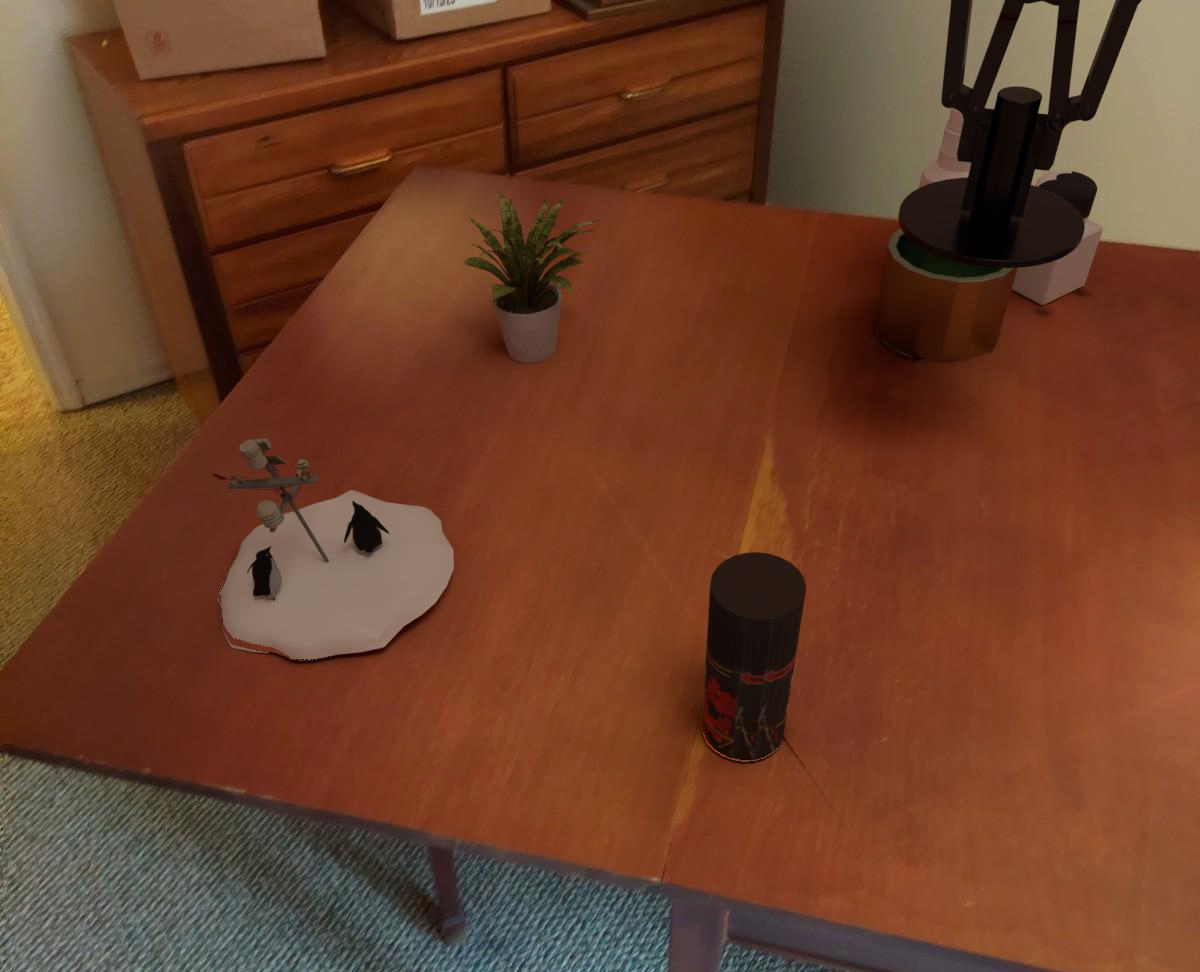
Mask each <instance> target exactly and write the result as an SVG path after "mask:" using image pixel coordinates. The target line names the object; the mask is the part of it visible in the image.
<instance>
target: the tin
mask: <svg viewBox="0 0 1200 972" xmlns="http://www.w3.org/2000/svg"><path fill="white" fill-rule="evenodd" d="M885 254H886V255H885V259H884V264H883V265H884V266H883V270H882V271H883V272H882V277H881V283H880V289H879V294H878V299H877V306H876V310H875V311H876V312H875V317H874V321H873V323H874V332H875V336H876V337H877V339H878V341H879V342H880V343H881V344H882V345H883V346H884V347H885V348H886V349H887V350H889V351H890V352H892V354H895V355H897V356H899V357H901V358H903V359H906V360H908V361H912V362H919V361H921V360H926V361H932V362H937V363H939V362H941V363H943V362H944V363H945V362H964V361H968V360H970V359H974V358H977V357H981V356H984V355H986V354H990V353H991V352H992V351H993V350H994V349H995V347H996V346H997V343H998V341H999V337H1000V333H1001V330H1002V325H1003V322H1004V318H1005V314H1006V312H1007V308H1008V305H1009V301H1010V297H1011V293H1012V291H1013V290H1012V286H1013V283H1014V279H1015V275H1016V272H1017V268H991V267H981V266H974V265H968V264H964V263H959V262H955V261H952V260H949V259H945V258H942V257H940V256H937V255H935V254H932V253H930V252H928V251H926V250H924V249H923V248H921V247H919V246H918V245H916V244H915V243H914V242H912V241H911V240H910V239H909V238H908V237H907V236H906V235H905V234H904V233H903V231H902V229H901V228H899V229H898V230H896V231H895V232H893V233H892V234H891V237H890V239H889V242H888V244H887V250H886V253H885Z"/></svg>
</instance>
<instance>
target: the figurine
mask: <svg viewBox="0 0 1200 972" xmlns="http://www.w3.org/2000/svg"><path fill="white" fill-rule="evenodd" d="M272 447H273V445H272V443H271V441H270V439H269V438H255V437H252V438H251V439H247V440H245V441H243V442H242V443H241V444H240V445H239V451H240V453H241V456H242V457H243V458H244V459H245V461H246V462H247V464H248V466H249V467H250V469H251V470H253V471H258V470H262V469H263V468H265V469H266V471H267V472H268V473H269V474H270V475H271V476H272V477H269V478H268V477H267V478H258V479H257V478H256V479H244V478H245V477H243V476H238V477H237V476H236V475H231V476H230V477H225V476H222V475H220V474H218V473H211V476H213V477H215V478H217V479H218V480H220V481H227V480H230V482H229V484H228V486H227V490H251V489H252V490H259V491H261V490H262V491H275V494H277V493H278V495H279V496H280V499H281V503H280V505H278V503H277V501H273V500H270V499H266V500H262V501H260V502H259V503H258V505H257V507H256V515H257V516H258V519H260V522H261V523H262V524H260V525H258V526H256V527H254V528H253V529H252V530H251V532H250V533H249V534H248V535H247V536H246V537H244V539H243V540H242V541H241V544H240V546H239V549H238V553H237V555H236V557H235V559H234V561H233V563H232V565H231V567H230V569H229V571H228V572H229V573H228V572H227V574H228V576H227V575H226V576H227V579H226V582H225V584H224V586H223V588H222V585H223V582H224V580H223V581H222V584H221V586H220V589H219V592H218V596H219V594H220V595H221V596H222V597H221V604H220V602H219V599H218V596H217V598H216V601H217V602H218V604H219V606H220V609H221V619H222V618H223V625H224V626H225V628H226V630H227V631H228V632H229V633H230V635H231V636H232V637H233V638H234V639H235V638H236V639H238V640H239V639H240V640H242V641H243V640H244V642H245V641H246V642H248V643H249V642H250V644H251V643H252V644H257V645H262V646H265V647H266V646H267V647H273V648H275V649H278V651H279V650H280V651H281V652H283V653H284V654H286V656H287V655H288V656H289V657H290V658H291V659H300V660H299V661H302V660H301V659H304V660H303V661H314V660H313V659H315V660H319V659H323V658H324V659H325V658H329V657H332V656H337V655H346V654H357V653H364V652H369V651H372V650H379V649H383V648H385V647H386V646H387V645H388V644H389V642H391V641H392V640H393V639H394V638H395V636H396V635H398V633H399V632H400V631H401V630H403V628H404V627H405V626H406V625H408V624H410V623H411V622H413V621H414V620H416V619H418V618H420V616H422V615H424V614H425V613H426V612H427V611H428V610H429V609H430V608H432V607H433V606H434V605H436V603H437V601H438V600H439V598H441V595H442V594H443V593H444V591H445V590H446V588H447V586H448V584H449V582H450V580H451V577H452V575H453V572H454V569H455V560H454V559H455V558H454V555H455V553H454V548H453V547H452V545H451V543H450V542H449V540H448V538H447V537H446V535H445V534H444V532H443V531H444V530H443V525H442V520H441V519H440V518H439V517H438V516H437V515H436V514H435V513H434V512H433V511H432V510H431V509H430V508H427V507H425V506H421V505H413V504H412V505H411V504H404V503H395V502H388V501H385V500H381V499H379V498H376V497H372V496H371V495H367V494H365V493H362V492H360V491H357V490H353V489H350V490H348V491H346V492H344V493H341V494H340V495H338V496H336V497H334V498H331V499H327V500H322V501H320V502H319V501H318V502H316V503H313V504H309V505H307V506H304V507H301V508H298V507H297V506H296V503H295V502H294V499H295V497H297V495H298V494H299V491H300V490H301V488H302V487H301V486H304V485H313V484H318V480H319V478H320V477H321V475H320V474H312V475H311V472H310V471H308V469H309V467H310V462H309V461H308V460H307V459H304V458H300V459H299V460H298V461H297V464H296V467H297V471H296V474H295V475H294V476H282V474H281V471H280V470H279V469H277V467H275V466H278V465H279V466H281V465H287V461H285V460H284V459H282V457H280V456H279V455H267V456H266V452H265V451H270V450H271V448H272ZM242 479H243V480H242ZM290 487H291V488H290ZM287 488H290V492H288V490H287ZM287 505H290V507H291V509H292V510H293V511H289V512H286V513H284V512H285V510H286V507H287ZM221 588H222V590H221ZM220 591H221V592H220ZM222 634H223V635H224V637H225V639H226V640H227V642H228V644H229V646H230V647H231V648H232V649H236V650H241V651H246V652H251V653H263V654H269V653H268V652H262V651H256V650H251V649H247V648H243V647H239V646H235V645H232V644H231V643H230V641H229V640H228V638H227V636H226V635H225V633H224V631H223V630H222ZM328 656H329V657H328ZM318 658H319V659H318ZM306 659H308V660H306ZM311 659H312V660H311Z"/></svg>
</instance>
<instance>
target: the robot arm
mask: <svg viewBox="0 0 1200 972" xmlns="http://www.w3.org/2000/svg"><path fill="white" fill-rule="evenodd" d="M1142 1H1143V0H1115V1H1114V4H1113V5H1112V9H1111V11H1110V14H1109V16H1108V20H1107V22H1106V25H1105V28H1104V30H1103V33H1102V36H1101V38H1100V41H1099V44H1098V46H1097V49H1096V51H1095V54H1094V57H1093V59H1092V63H1091V65H1090V68H1089V70H1088V74H1087V76H1086V79H1085V81H1084V84H1083V86H1082V89H1081V92H1080V94H1078V95H1073V96H1070V91H1071V81H1072V73H1073V65H1074V56H1075V49H1076V48H1075V47H1076V39H1077V38H1076V37H1077V29H1078V22H1079V21H1078V20H1079V14H1080V13H1079V12H1080V4H1081V0H1004V1H1003V2H1002V3H1003V4H1002V6H1001V9H1000V12H999V15H998V17H997V20H996V23H995V25H994V27H993V28H994V29H993V31H992V34H991V37H990V40H989V42H988V45H987V48H986V51H985V53H984V56H983V59H982V62H981V64H980V67H979V70H978V72H977V76H976V78H975V80H974V84H973V87H970V86H968V85H966V84H964V82H965V72H966V64H967V55H968V46H969V37H970V29H971V28H970V27H971V19H972V11H973V2H974V1H973V0H950V9H949V16H948V27H947V37H946V39H947V40H946V46H945V47H946V48H945V56H944V57H945V58H944V67H943V78H942V89H941V97H940V98H941V99H940V101H941V105H942V106H943V107H944V108H946V109H951V108H954V109H956V110H958V111H959V112H961V114H962V115H963V119H964V120H963V126H962V131H961V136H960V141H959V145H958V150H957V158H958V161H962V162H971V166H970V171H969V175H968V180H967V184H966V189H965V194H964V198H963V203H962V207H961V210H962V211H970V212H971V210H972V206H973V202H974V197H975V193H976V188H977V184H978V180H979V175H980V171H981V166H982V162H983V157H984V153H985V149H986V144H987V140H988V135H989V131H990V126H991V122H992V116H993V112H994V108H989V107H986V106H987V103H988V100H989V97H990V95H991V93H992V89H993V87H994V84H995V83H996V79H997V76H998V74H999V71H1000V68H1001V66H1002V64H1003V61H1004V58H1005V55H1006V53H1007V49H1008V47H1009V45H1010V41H1011V39H1012V36H1013V34H1014V31H1015V29H1016V26H1017V24H1018V21H1019V18H1020V16H1021V13H1022V11H1023V8H1024V6H1025V4H1027V5H1029V4H1035V3H1040V2H1044V3H1045V4H1046V3H1047V4H1049V5H1052V6H1055V7H1058V9H1057V19H1056V20H1057V21H1056V31H1055V32H1056V33H1055V41H1054V49H1053V50H1054V52H1053V59H1052V60H1053V61H1052V70H1051V80H1050V89H1049V98H1048V108H1047V113H1040V112H1038V116H1037V120H1036V122H1035V126H1034V130H1033V134H1032V138H1031V142H1030V146H1029V150H1028V154H1027V158H1026V161H1025V165H1024V169H1023V173H1022V177H1021V181H1020V185H1019V189H1018V193H1017V197H1016V201H1015V205H1014V209H1013V213H1012V217H1019V218H1022V217H1023V213H1024V210H1025V206H1026V202H1027V198H1028V194H1029V191H1030V187H1031V185H1032V184H1033V183H1032V182H1033V179H1034V176H1035V171H1036V170H1037V171H1047V172H1050V170H1051V168H1052V167H1053V166H1054V165H1055V160H1056V157H1057V152H1058V149H1059V145H1060V141H1061V138H1062V135H1063V131H1064V129H1065V127H1066V126H1068V125H1069V124H1072V123H1073V122H1078V121H1082V122H1089V121H1092V119H1094V117H1095V116H1096V114H1097V112H1098V110H1099V106H1100V104H1101V102H1102V99H1103V97H1104V94H1105V91H1106V88H1107V86H1108V84H1109V81H1110V78H1111V76H1112V73H1113V70H1114V68H1115V66H1116V63H1117V60H1118V58H1119V56H1120V52H1121V50H1122V48H1123V45H1124V42H1125V40H1126V37H1127V34H1128V32H1129V30H1130V28H1131V24H1132V21H1133V19H1134V16H1135V15H1136V12H1137V9H1138V6H1139V5H1140V3H1141V2H1142Z"/></svg>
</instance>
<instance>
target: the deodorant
mask: <svg viewBox="0 0 1200 972" xmlns="http://www.w3.org/2000/svg"><path fill="white" fill-rule="evenodd" d="M806 592H807V584H806V581H805V577H804V575H803V574H802V572H801V571H800V569H798V567H796V565H794V564H793V563H792V562H791V561H788V560H787V559H785V558H783V557H781V556H779V555H775V554H773V553H767V552H760V551H755V552H753V551H752V552H743V553H739V554H734V555H733V556H731V557H729V558H727V559H724V560H723V561H722V562H721V563H719V565H717V566H716V568H715V569H714V571H713V572H712V574H711V578H710V583H709V599H708V600H709V602H708V615H707V633H706V648H705V649H706V650H705V667H704V682H703V697H702V698H703V699H702V714H701V716H702V717H701V729H702V728H703V732H702V731H701V734H702V738H703V740H704V742H705V744H706V746H707V747H708V748H709V749H710V751H712V753H714V754H715V755H716V756H718V757H719V758H721V759H724V760H726V761H728V762H731V763H737V764H743V765H745V764H755V763H759V762H762V761H765V760H767V759H768V758H770V757H772V756H773V755H775V753H776V752H777V751H778V750H780V747H781V745H782V744H783V742H784V736H785V729H786V724H787V716H788V711H789V705H790V704H789V703H790V696H791V691H792V683H793V678H794V672H795V671H794V670H795V664H796V657H797V652H798V651H797V650H798V645H799V639H800V631H801V625H802V620H803V619H802V618H803V613H804V612H803V611H804V607H805V599H806ZM703 733H704V735H705V738H706V740H707V741H708V743H709V744H710V745H711V746H712V747H713V748H714V749H715V750H717V751H718V752H720V753H721V754H724V755H726V756H727V757H729V758H735V759H740V760H756V759H760V758H762V757H763V758H764V757H765V756H767V755H768V754H770V753H772V752H773V751H774V750H776V748H778V747H779V748H778V749H777V750H776V751H775V752H774V753H773V754H771V755H769V756H767V757H766V758H764V759H760V760H757V761H749V762H741V761H735V760H731V759H728V758H726V757H723V756H721V755H720V754H718V753H717V752H715V751H714V750H713V749H712V748H711V747H710V746H709V745H708V744H707V742H706V740H705V738H704V736H703ZM781 741H782V742H781ZM779 745H780V746H779Z"/></svg>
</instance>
